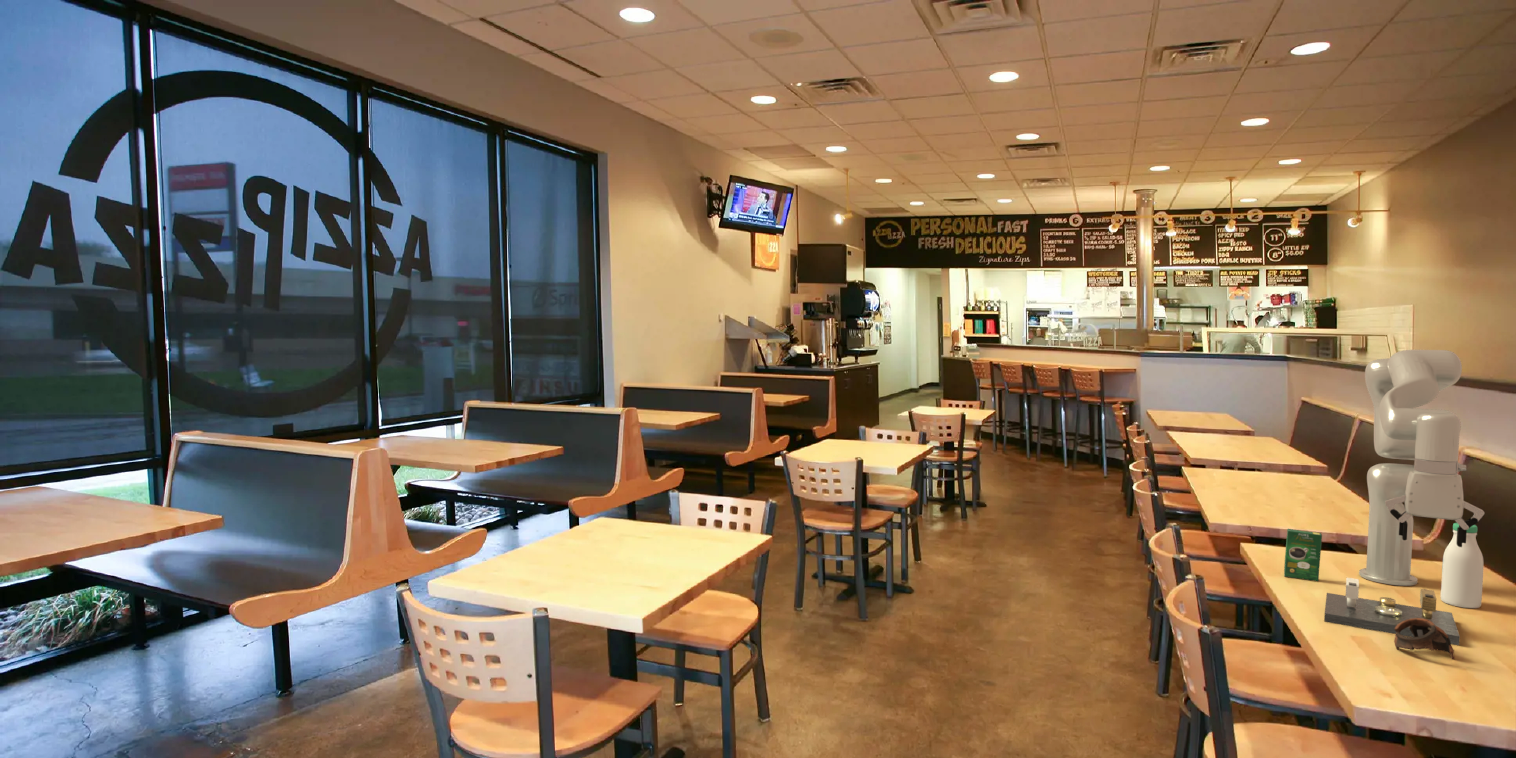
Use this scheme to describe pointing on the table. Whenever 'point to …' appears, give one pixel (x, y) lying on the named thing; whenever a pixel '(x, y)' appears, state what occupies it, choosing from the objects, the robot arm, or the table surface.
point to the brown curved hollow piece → (1422, 636)
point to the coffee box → (1302, 554)
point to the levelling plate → (1383, 615)
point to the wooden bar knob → (1427, 603)
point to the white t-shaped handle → (1352, 591)
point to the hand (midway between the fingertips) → (1431, 542)
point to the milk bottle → (1462, 571)
